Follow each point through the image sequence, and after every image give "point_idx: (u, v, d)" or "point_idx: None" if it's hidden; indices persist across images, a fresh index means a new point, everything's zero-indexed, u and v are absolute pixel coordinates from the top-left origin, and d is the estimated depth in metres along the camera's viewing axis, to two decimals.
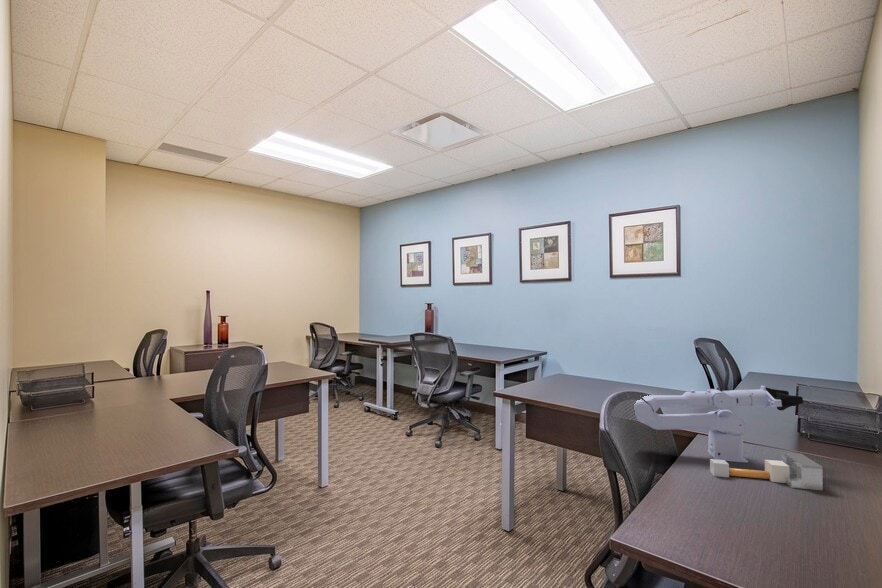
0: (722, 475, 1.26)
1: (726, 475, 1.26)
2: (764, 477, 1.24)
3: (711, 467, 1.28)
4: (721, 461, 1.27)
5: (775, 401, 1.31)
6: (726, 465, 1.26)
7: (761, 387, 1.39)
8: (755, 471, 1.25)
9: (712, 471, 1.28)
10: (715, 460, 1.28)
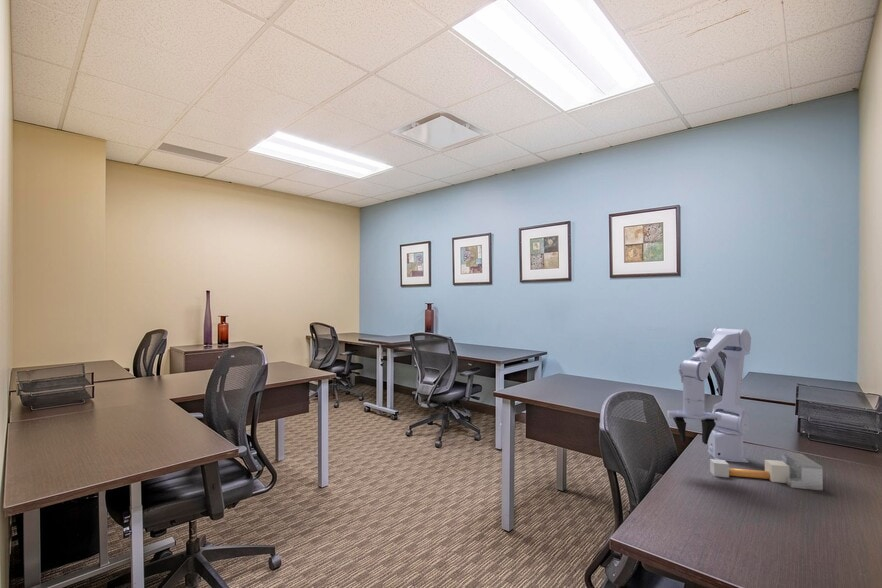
0: (722, 475, 1.26)
1: (726, 475, 1.26)
2: (764, 477, 1.24)
3: (711, 467, 1.28)
4: (721, 461, 1.27)
5: (668, 412, 1.30)
6: (726, 465, 1.26)
7: (698, 416, 1.26)
8: (755, 471, 1.25)
9: (712, 471, 1.28)
10: (715, 460, 1.28)
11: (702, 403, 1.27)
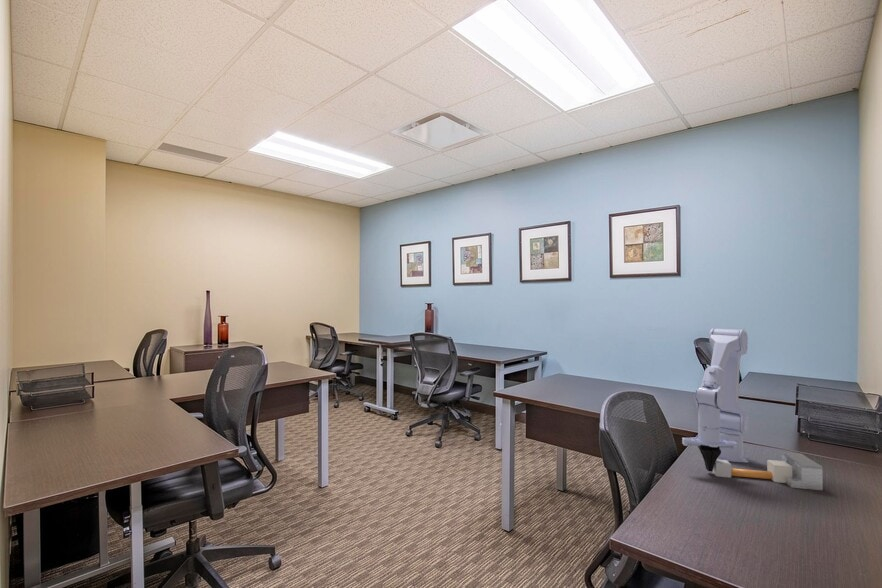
0: (724, 475, 1.26)
1: (728, 475, 1.25)
2: (767, 477, 1.24)
3: None
4: (723, 461, 1.27)
5: (683, 440, 1.29)
6: (728, 465, 1.25)
7: (714, 444, 1.25)
8: (757, 471, 1.25)
9: (714, 471, 1.27)
10: (717, 460, 1.28)
11: (718, 431, 1.26)
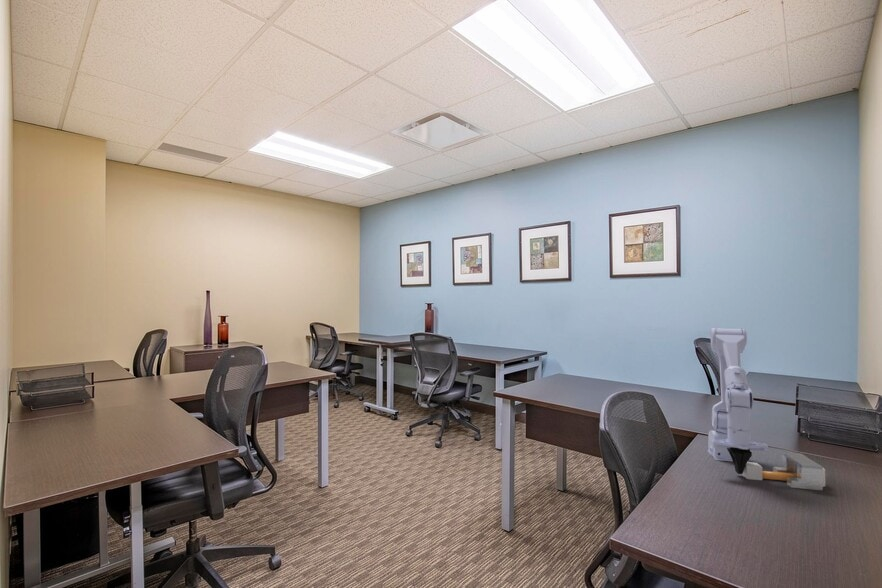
0: (755, 478, 1.24)
1: (759, 478, 1.23)
2: None
3: None
4: (753, 464, 1.25)
5: (713, 442, 1.27)
6: (759, 468, 1.23)
7: (745, 446, 1.23)
8: (789, 474, 1.23)
9: (744, 474, 1.25)
10: (747, 462, 1.26)
11: (748, 433, 1.24)
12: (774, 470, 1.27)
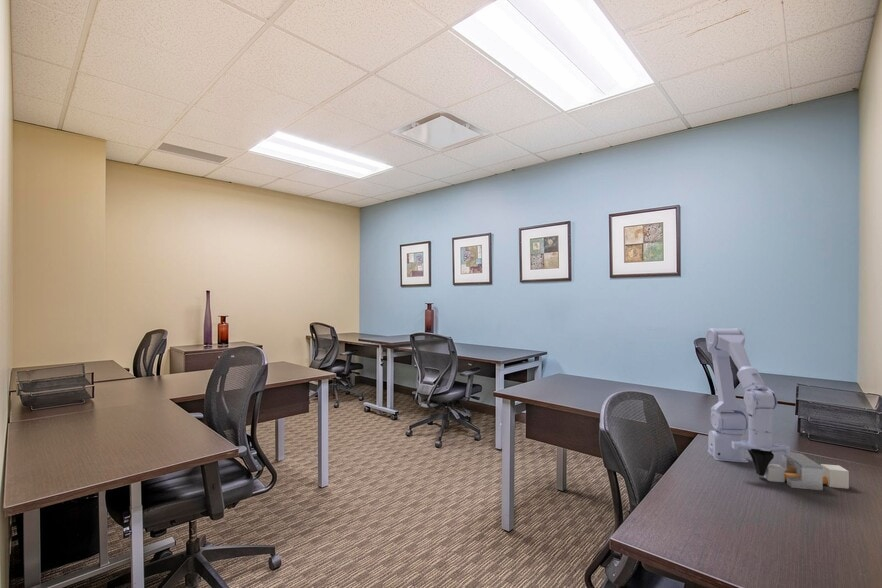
0: (777, 480, 1.22)
1: (781, 480, 1.22)
2: None
3: (765, 472, 1.25)
4: (775, 466, 1.24)
5: (734, 443, 1.26)
6: (781, 470, 1.22)
7: (767, 448, 1.21)
8: None
9: (766, 476, 1.24)
10: (768, 464, 1.25)
11: (770, 435, 1.22)
12: None
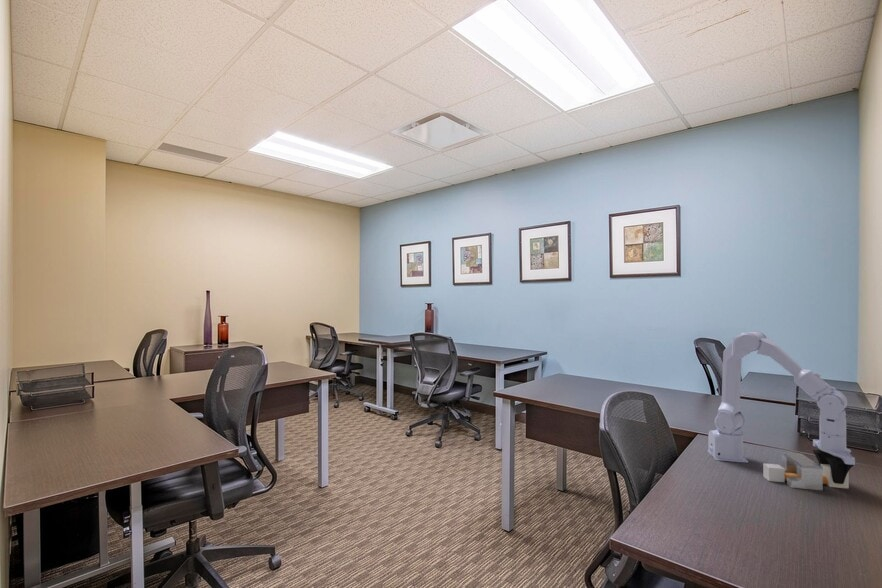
0: (777, 480, 1.22)
1: (781, 480, 1.22)
2: None
3: (765, 472, 1.25)
4: (775, 466, 1.24)
5: (853, 458, 1.13)
6: (781, 470, 1.22)
7: (846, 448, 1.20)
8: None
9: (766, 476, 1.24)
10: (769, 464, 1.25)
11: None
12: None
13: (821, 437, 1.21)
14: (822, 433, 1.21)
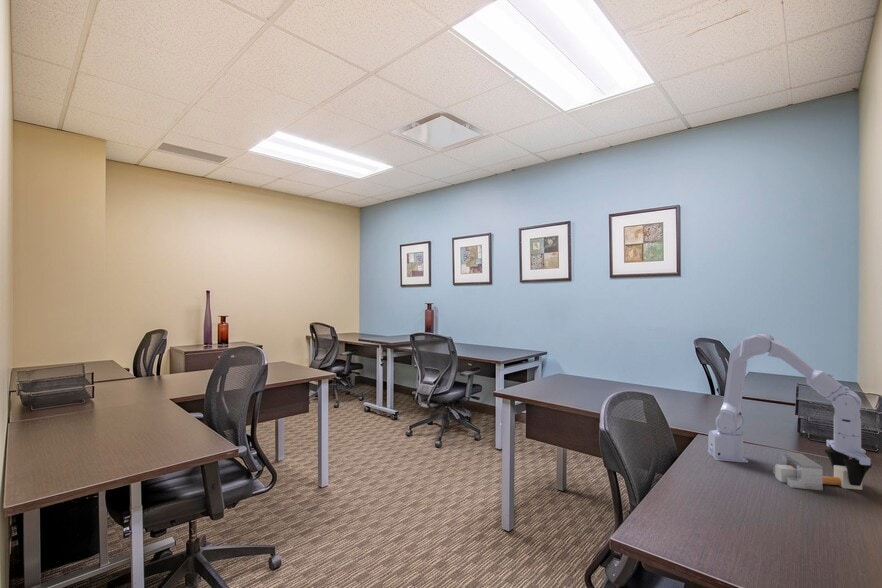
0: None
1: None
2: (834, 483, 1.20)
3: (777, 473, 1.24)
4: (788, 467, 1.23)
5: (869, 459, 1.12)
6: (794, 471, 1.21)
7: (860, 449, 1.19)
8: (824, 477, 1.21)
9: (778, 477, 1.23)
10: (781, 465, 1.24)
11: None
12: (774, 470, 1.27)
13: (835, 437, 1.20)
14: (836, 433, 1.20)
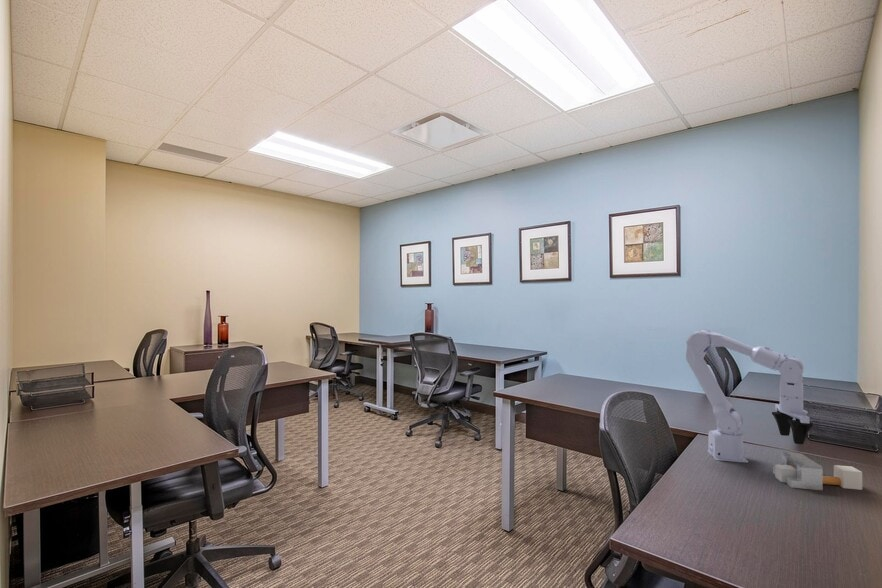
0: None
1: None
2: (834, 483, 1.20)
3: (777, 473, 1.24)
4: (788, 467, 1.23)
5: (808, 417, 1.23)
6: (794, 471, 1.21)
7: (803, 410, 1.29)
8: (824, 477, 1.21)
9: (778, 477, 1.23)
10: (781, 465, 1.24)
11: None
12: (774, 470, 1.27)
13: (781, 400, 1.30)
14: (781, 396, 1.30)
